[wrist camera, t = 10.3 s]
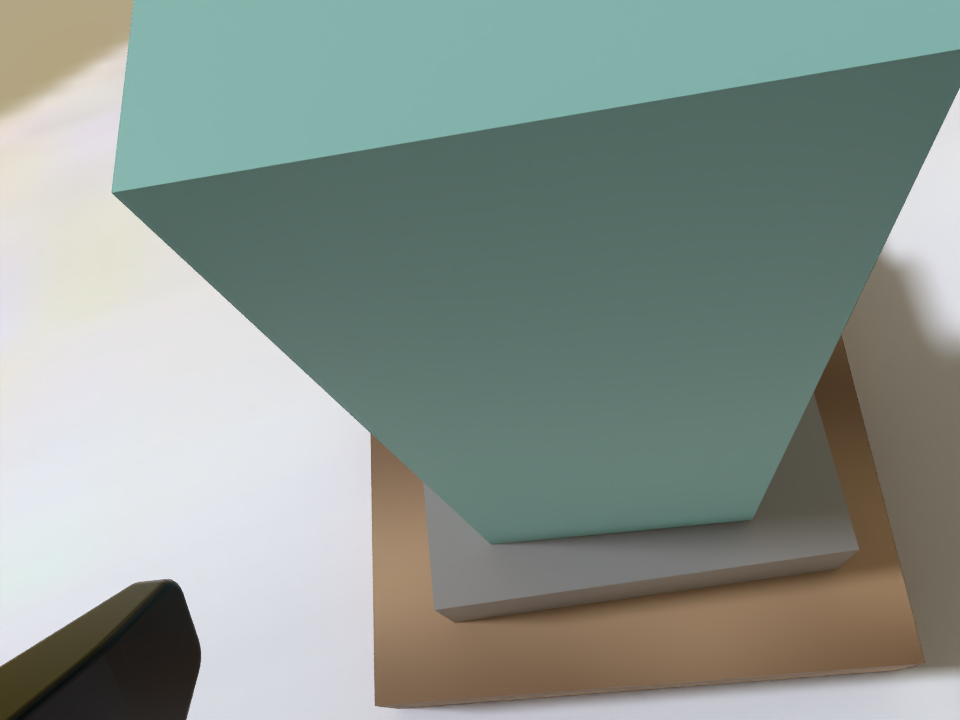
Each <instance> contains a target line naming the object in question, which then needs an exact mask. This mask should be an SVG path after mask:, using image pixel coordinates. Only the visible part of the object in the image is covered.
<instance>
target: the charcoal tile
mask: <svg viewBox="0 0 960 720" xmlns="http://www.w3.org/2000/svg"><path fill="white" fill-rule="evenodd" d="M423 486H424V497H425V509H426V520H427V532H428V543H429V555H430V566H431V578H432V589H433V601H434V610H435V611H437V612H438V613H440V614H441V615H443V616H445V617H446V618H448V619H449V620H451V621H452V622H454V623H456V622H463V621H471V620H478V619H485V618H492V617H499V616H506V615H513V614H520V613H528V612H535V611H542V610H549V609H556V608H563V607H570V606H577V605H585V604H592V603H599V602H606V601H613V600H620V599H627V598H634V597H642V596H649V595H656V594H663V593H670V592H677V591H684V590H692V589H699V588H706V587H713V586H720V585H727V584H734V583H741V582H749V581H756V580H763V579H770V578H777V577H784V576H791V575H798V574H806V573H813V572H820V571H827V570H834V569H838V568H839V567H840V566H842V565H843V564H844V563H845V562H846V561H847V560H848V559H849V558H850V557H852V556H853V555H854V554H855V553H856V552H857V551H858V550H859V546H858V543H857V539H856V536H855V532H854V529H853V526H852V522H851V519H850V515H849V512H848V508H847V505H846V502H845V498H844V495H843V491H842V488H841V484H840V481H839V478H838V474H837V471H836V467H835V464H834V460H833V457H832V454H831V450H830V447H829V443H828V440H827V436H826V433H825V430H824V426H823V423H822V419H821V416H820V412H819V409H818V406H817V402H816V399H815V395H814V392H813V394H812V396H811V398H810V401H809V403H808V405H807V407H806V409H805V411H804V413H803V415H802V417H801V419H800V421H799V423H798V426H797V428H796V430H795V432H794V434H793V436H792V438H791V440H790V442H789V444H788V446H787V448H786V451H785V453H784V455H783V457H782V459H781V461H780V463H779V465H778V467H777V469H776V471H775V473H774V476H773V478H772V480H771V482H770V484H769V486H768V488H767V490H766V492H765V494H764V496H763V498H762V501H761V503H760V505H759V507H758V509H757V511H756V513H755V515H754V517H753V519H752V520H747V521H736V522H726V523H715V524H704V525H694V526H683V527H673V528H662V529H651V530H641V531H630V532H619V533H609V534H598V535H587V536H577V537H566V538H555V539H545V540H534V541H524V542H513V543H502V544H490V543H489V542H488V541H487V540H485V539H484V538H483V537H482V536H481V535H480V534H479V533H478V532H477V531H476V530H475V529H474V528H473V527H471V526H470V525H469V524H468V523H467V522H466V521H465V520H464V519H463V518H462V517H461V516H460V515H459V514H457V513H456V512H455V511H454V510H453V509H452V508H451V507H450V506H449V505H448V504H447V503H446V502H444V501H443V500H442V499H441V498H440V497H439V496H438V495H437V494H436V493H435V492H434V491H433V490H432V489H430V488H429V487H428V486H427V485H426V484H425V483H424V482H423Z"/></svg>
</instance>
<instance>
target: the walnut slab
mask: <svg viewBox="0 0 960 720" xmlns="http://www.w3.org/2000/svg"><path fill="white" fill-rule="evenodd" d="M814 395H815V399H816V402H817V406H818V409H819V412H820V416H821V419H822V423H823V426H824V430H825V433H826V436H827V440H828V443H829V447H830V450H831V454H832V457H833V460H834V464H835V467H836V471H837V474H838V478H839V481H840V484H841V488H842V491H843V495H844V498H845V502H846V505H847V508H848V512H849V515H850V519H851V522H852V526H853V529H854V532H855V536H856V539H857V543H858V546H859V550H858V551H857V552H856V553H855V554H854V555H853V556H852V557H850V558H849V559H848V560H847V561H846V562H845V563H844V564H843V565H842V566H840V567H839V568H838V569H834V570H827V571H820V572H813V573H806V574H798V575H791V576H784V577H777V578H770V579H763V580H756V581H749V582H741V583H734V584H727V585H720V586H713V587H706V588H699V589H692V590H684V591H677V592H670V593H663V594H656V595H649V596H642V597H634V598H627V599H620V600H613V601H606V602H599V603H592V604H585V605H577V606H570V607H563V608H556V609H549V610H542V611H535V612H528V613H520V614H513V615H506V616H499V617H492V618H485V619H478V620H471V621H463V622H456V623H454V622H452V621H451V620H449V619H448V618H446V617H445V616H443V615H441V614H440V613H438V612H437V611H435V610H434V601H433V589H432V578H431V566H430V555H429V543H428V532H427V520H426V509H425V497H424V486H423V481H422V480H421V479H420V478H419V477H418V476H416V475H415V474H414V473H413V472H412V471H411V470H410V469H409V468H408V467H407V466H406V465H405V464H404V463H402V462H401V461H400V460H399V459H398V458H397V457H396V456H395V455H394V454H393V453H392V452H391V451H389V450H388V449H387V448H386V447H385V446H384V445H383V444H382V443H381V442H380V441H379V440H378V439H377V438H375V437H374V436H373V435H372V434H371V485H372V550H373V614H374V679H375V706H379V707H388V708H396V709H399V708H412V707H425V706H438V705H451V704H464V703H477V702H490V701H503V700H516V699H529V698H542V697H555V696H568V695H581V694H594V693H607V692H620V691H633V690H646V689H659V688H672V687H685V686H698V685H711V684H724V683H737V682H750V681H763V680H776V679H789V678H802V677H815V676H828V675H841V674H854V673H867V672H880V671H893V670H900V669H904V668H908V667H912V666H916V665H920V664H924V663H925V661H924V657H923V653H922V649H921V645H920V641H919V637H918V633H917V630H916V626H915V622H914V618H913V614H912V610H911V606H910V602H909V598H908V594H907V590H906V586H905V583H904V579H903V575H902V571H901V567H900V563H899V559H898V555H897V551H896V547H895V543H894V539H893V536H892V532H891V528H890V524H889V520H888V516H887V512H886V508H885V504H884V500H883V496H882V492H881V489H880V485H879V481H878V477H877V473H876V469H875V465H874V461H873V457H872V453H871V449H870V445H869V442H868V438H867V434H866V430H865V426H864V422H863V418H862V414H861V410H860V406H859V402H858V398H857V395H856V391H855V387H854V383H853V379H852V375H851V371H850V367H849V363H848V359H847V355H846V351H845V348H844V344H843V340H842V336H840V338H839V340H838V342H837V344H836V346H835V349H834V351H833V353H832V355H831V357H830V359H829V361H828V363H827V365H826V367H825V369H824V371H823V373H822V376H821V378H820V380H819V382H818V384H817V386H816V388H815V390H814Z"/></svg>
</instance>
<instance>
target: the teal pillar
mask: <svg viewBox="0 0 960 720" xmlns="http://www.w3.org/2000/svg"><path fill="white" fill-rule="evenodd" d="M959 88H960V0H134V3H133V12H132V21H131V29H130V38H129V46H128V55H127V63H126V72H125V81H124V89H123V98H122V106H121V115H120V124H119V132H118V141H117V150H116V158H115V167H114V175H113V184H112V194H113V195H115V196H116V197H117V198H118V199H119V200H120V201H121V202H122V203H123V204H124V205H125V206H126V207H127V208H129V209H130V210H131V211H132V212H133V213H134V214H135V215H136V216H137V217H138V218H139V219H140V220H141V221H143V222H144V223H145V224H146V225H147V226H148V227H149V228H150V229H151V230H152V231H153V232H154V233H156V234H157V235H158V236H159V237H160V238H161V239H162V240H163V241H164V242H165V243H166V244H167V245H168V246H170V247H171V248H172V249H173V250H174V251H175V252H176V253H177V254H178V255H179V256H180V257H181V258H182V259H184V260H185V261H186V262H187V263H188V264H189V265H190V266H191V267H192V268H193V269H194V270H195V271H196V272H198V273H199V274H200V275H201V276H202V277H203V278H204V279H205V280H206V281H207V282H208V283H209V284H210V285H212V286H213V287H214V288H215V289H216V290H217V291H218V292H219V293H220V294H221V295H222V296H223V297H225V298H226V299H227V300H228V301H229V302H230V303H231V304H232V305H233V306H234V307H235V308H236V309H237V310H239V311H240V312H241V313H242V314H243V315H244V316H245V317H246V318H247V319H248V320H249V321H250V322H251V323H253V324H254V325H255V326H256V327H257V328H258V329H259V330H260V331H261V332H262V333H263V334H264V335H265V336H267V337H268V338H269V339H270V340H271V341H272V342H273V343H274V344H275V345H276V346H277V347H278V348H280V349H281V350H282V351H283V352H284V353H285V354H286V355H287V356H288V357H289V358H290V359H291V360H292V361H294V362H295V363H296V364H297V365H298V366H299V367H300V368H301V369H302V370H303V371H304V372H305V373H306V374H308V375H309V376H310V377H311V378H312V379H313V380H314V381H315V382H316V383H317V384H318V385H319V386H320V387H322V388H323V389H324V390H325V391H326V392H327V393H328V394H329V395H330V396H331V397H332V398H333V399H335V400H336V401H337V402H338V403H339V404H340V405H341V406H342V407H343V408H344V409H345V410H346V411H347V412H349V413H350V414H351V415H352V416H353V417H354V418H355V419H356V420H357V421H358V422H359V423H360V424H361V425H363V426H364V427H365V428H366V429H367V430H368V431H369V432H370V433H371V434H372V435H373V436H374V437H375V438H377V439H378V440H379V441H380V442H381V443H382V444H383V445H384V446H385V447H386V448H387V449H388V450H389V451H391V452H392V453H393V454H394V455H395V456H396V457H397V458H398V459H399V460H400V461H401V462H402V463H404V464H405V465H406V466H407V467H408V468H409V469H410V470H411V471H412V472H413V473H414V474H415V475H416V476H418V477H419V478H420V479H421V480H422V481H423V482H424V483H425V484H426V485H427V486H428V487H429V488H430V489H432V490H433V491H434V492H435V493H436V494H437V495H438V496H439V497H440V498H441V499H442V500H443V501H444V502H446V503H447V504H448V505H449V506H450V507H451V508H452V509H453V510H454V511H455V512H456V513H457V514H459V515H460V516H461V517H462V518H463V519H464V520H465V521H466V522H467V523H468V524H469V525H470V526H471V527H473V528H474V529H475V530H476V531H477V532H478V533H479V534H480V535H481V536H482V537H483V538H484V539H485V540H487V541H488V542H489V543H490V544H502V543H513V542H524V541H534V540H545V539H555V538H566V537H577V536H587V535H598V534H609V533H619V532H630V531H641V530H651V529H662V528H673V527H683V526H694V525H704V524H715V523H726V522H736V521H747V520H752V519H753V517H754V515H755V513H756V511H757V509H758V507H759V505H760V503H761V501H762V498H763V496H764V494H765V492H766V490H767V488H768V486H769V484H770V482H771V480H772V478H773V476H774V473H775V471H776V469H777V467H778V465H779V463H780V461H781V459H782V457H783V455H784V453H785V451H786V448H787V446H788V444H789V442H790V440H791V438H792V436H793V434H794V432H795V430H796V428H797V426H798V423H799V421H800V419H801V417H802V415H803V413H804V411H805V409H806V407H807V405H808V403H809V401H810V398H811V396H812V394H813V392H814V390H815V388H816V386H817V384H818V382H819V380H820V378H821V376H822V373H823V371H824V369H825V367H826V365H827V363H828V361H829V359H830V357H831V355H832V353H833V351H834V349H835V346H836V344H837V342H838V340H839V338H840V336H841V334H842V332H843V330H844V328H845V326H846V324H847V321H848V319H849V317H850V315H851V313H852V311H853V309H854V307H855V305H856V303H857V301H858V299H859V296H860V294H861V292H862V290H863V288H864V286H865V284H866V282H867V280H868V278H869V276H870V274H871V271H872V269H873V267H874V265H875V263H876V261H877V259H878V257H879V255H880V253H881V251H882V249H883V246H884V244H885V242H886V240H887V238H888V236H889V234H890V232H891V230H892V228H893V226H894V224H895V221H896V219H897V217H898V215H899V213H900V211H901V209H902V207H903V205H904V203H905V201H906V199H907V196H908V194H909V192H910V190H911V188H912V186H913V184H914V182H915V180H916V178H917V176H918V174H919V171H920V169H921V167H922V165H923V163H924V161H925V159H926V157H927V155H928V153H929V151H930V149H931V146H932V144H933V142H934V140H935V138H936V136H937V134H938V132H939V130H940V128H941V126H942V124H943V121H944V119H945V117H946V115H947V113H948V111H949V109H950V107H951V105H952V103H953V101H954V99H955V96H956V94H957V92H958V90H959Z"/></svg>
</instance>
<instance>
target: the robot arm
mask: <svg viewBox="0 0 960 720" xmlns="http://www.w3.org/2000/svg"><path fill="white" fill-rule="evenodd" d="M200 663H201V649H200V643H199V639H198V636H197V633H196V630H195V627H194V624H193V621H192V618H191V615H190V612H189V609H188V606H187V603H186V600H185V597H184V594H183V592H182V590H181V587H180V586H179V585H178V583H176V582H175V581H173V580H171V579H163V580H154V581H144V582H138V583H134V584H132V585H130V586H129V587H127V588H126V589H124V590H122V591H121V592H119V593H118V594H116V595H114V596H113V597H111V598H110V599H108V600H106V601H105V602H103V603H102V604H100V605H98V606H97V607H95V608H94V609H92V610H90V611H89V612H87V613H85V614H84V615H82V616H81V617H79V618H77V619H76V620H74V621H73V622H71V623H69V624H68V625H66V626H65V627H63V628H61V629H60V630H58V631H57V632H55V633H53V634H52V635H50V636H49V637H47V638H45V639H44V640H42V641H41V642H39V643H37V644H36V645H34V646H33V647H31V648H29V649H28V650H26V651H25V652H23V653H21V654H20V655H18V656H17V657H15V658H13V659H12V660H10V661H9V662H7V663H5V664H4V665H2V666H1V667H0V720H186V719H187V715H188V711H189V707H190V704H191V700H192V696H193V692H194V688H195V685H196V681H197V677H198V673H199V669H200Z"/></svg>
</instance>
